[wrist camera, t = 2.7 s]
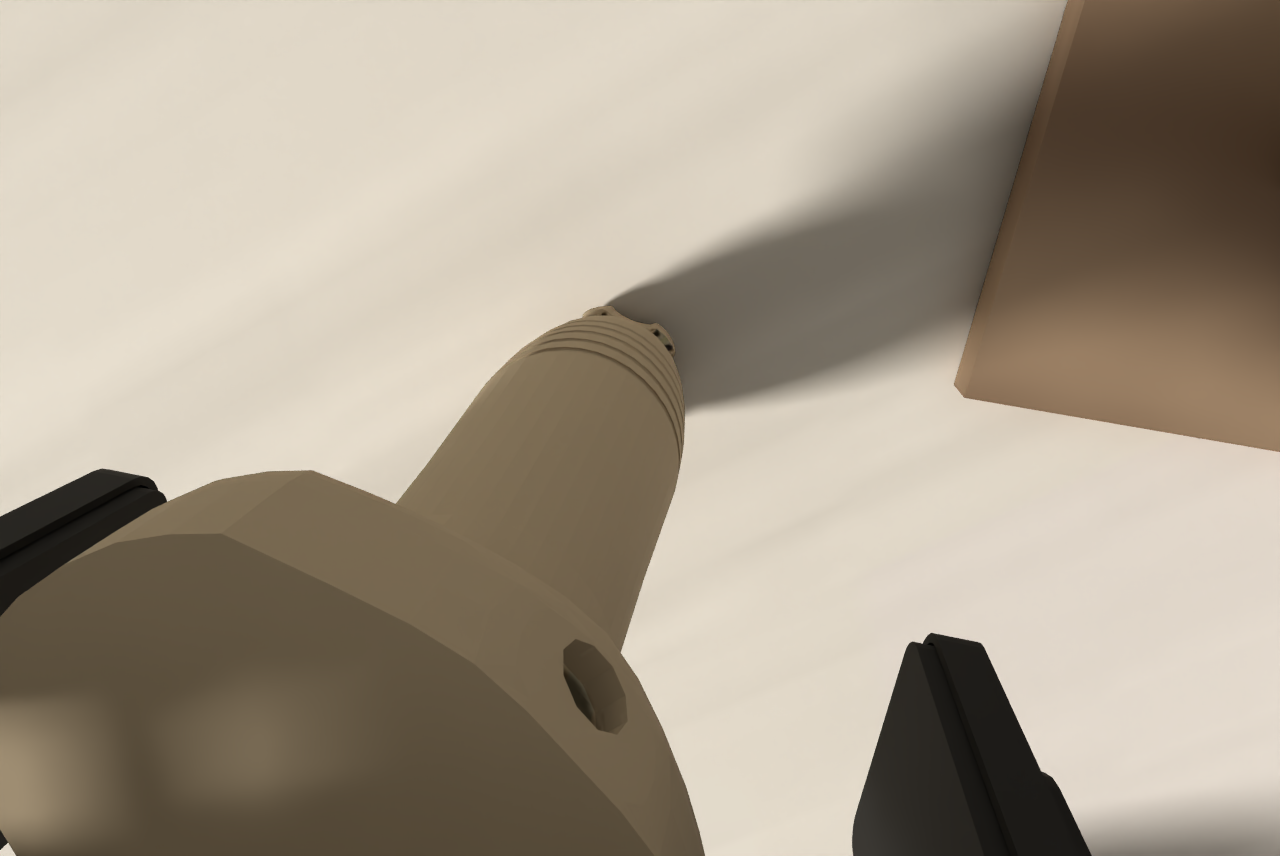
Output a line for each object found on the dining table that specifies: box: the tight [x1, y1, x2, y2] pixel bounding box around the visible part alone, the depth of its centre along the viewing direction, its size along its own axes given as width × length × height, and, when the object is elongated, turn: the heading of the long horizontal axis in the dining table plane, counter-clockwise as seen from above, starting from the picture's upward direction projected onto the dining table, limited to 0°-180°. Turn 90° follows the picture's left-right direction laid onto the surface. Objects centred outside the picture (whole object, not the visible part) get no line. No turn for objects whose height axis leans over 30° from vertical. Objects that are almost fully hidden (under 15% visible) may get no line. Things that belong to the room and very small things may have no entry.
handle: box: [0, 306, 705, 856], centre depth 13 cm, size 5×6×15 cm
